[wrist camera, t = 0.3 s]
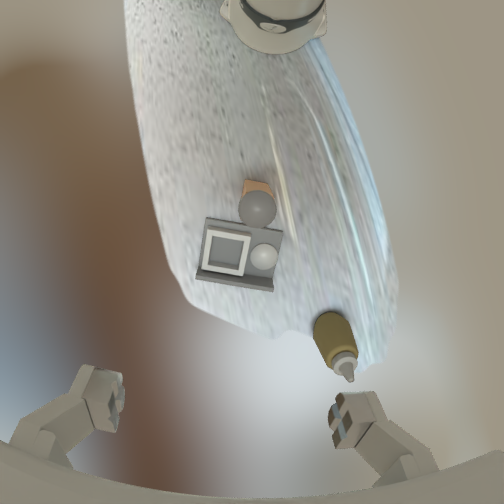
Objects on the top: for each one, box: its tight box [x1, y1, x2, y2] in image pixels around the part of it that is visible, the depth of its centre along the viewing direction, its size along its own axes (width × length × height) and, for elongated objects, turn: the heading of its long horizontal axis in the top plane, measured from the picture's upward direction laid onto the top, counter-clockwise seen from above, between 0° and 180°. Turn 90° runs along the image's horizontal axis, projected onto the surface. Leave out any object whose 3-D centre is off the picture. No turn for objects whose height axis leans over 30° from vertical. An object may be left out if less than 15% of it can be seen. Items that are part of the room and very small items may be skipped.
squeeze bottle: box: [313, 312, 358, 382], centre depth 57 cm, size 8×8×18 cm
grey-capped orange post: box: [238, 179, 277, 228], centre depth 49 cm, size 5×5×13 cm
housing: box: [195, 217, 283, 292], centre depth 57 cm, size 10×14×5 cm
